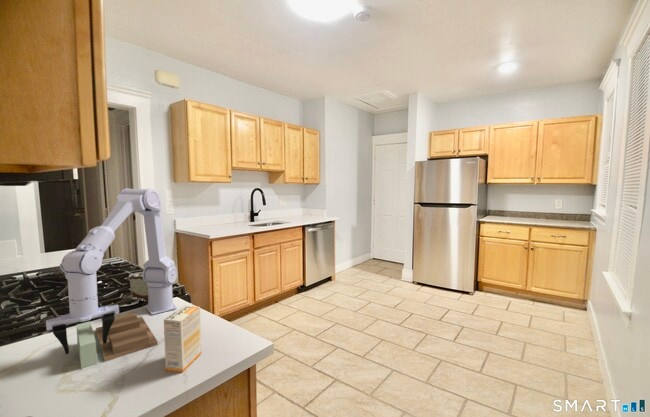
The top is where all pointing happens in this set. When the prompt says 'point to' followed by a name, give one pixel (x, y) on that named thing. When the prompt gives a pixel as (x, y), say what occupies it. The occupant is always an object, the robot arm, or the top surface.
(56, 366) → the top surface
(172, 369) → the supplement box
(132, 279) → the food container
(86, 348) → the sage block
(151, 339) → the slotted plank
